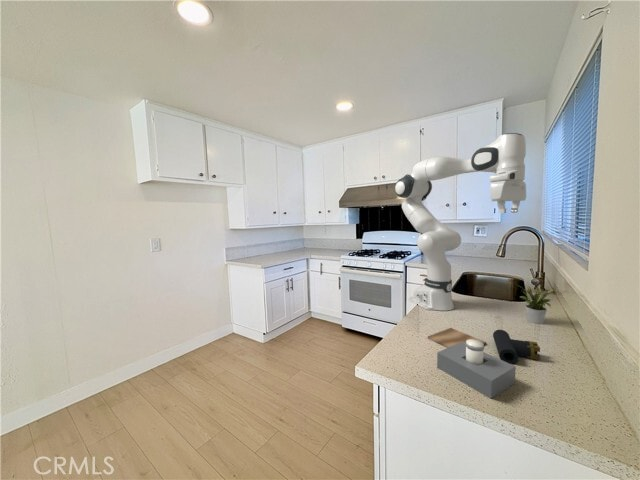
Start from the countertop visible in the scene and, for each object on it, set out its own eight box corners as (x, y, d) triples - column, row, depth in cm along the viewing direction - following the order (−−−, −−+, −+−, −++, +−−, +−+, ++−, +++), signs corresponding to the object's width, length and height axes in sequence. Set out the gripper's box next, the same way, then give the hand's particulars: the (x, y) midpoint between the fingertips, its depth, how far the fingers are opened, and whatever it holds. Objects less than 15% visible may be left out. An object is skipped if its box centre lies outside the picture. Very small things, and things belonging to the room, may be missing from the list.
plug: (461, 373, 77) (462, 341, 76) (470, 368, 80) (471, 337, 78) (477, 381, 73) (478, 348, 72) (486, 376, 76) (487, 344, 75)
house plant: (507, 320, 112) (508, 284, 110) (514, 312, 121) (516, 278, 119) (550, 331, 101) (553, 291, 100) (555, 320, 110) (557, 283, 109)
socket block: (437, 367, 81) (437, 352, 80) (460, 356, 86) (461, 342, 86) (490, 398, 67) (491, 380, 66) (514, 383, 72) (515, 366, 72)
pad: (427, 338, 99) (427, 336, 99) (450, 329, 106) (450, 327, 106) (462, 355, 87) (462, 353, 87) (486, 344, 93) (486, 342, 93)
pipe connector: (532, 333, 90) (545, 354, 77) (531, 347, 91) (545, 371, 77) (493, 328, 95) (499, 347, 82) (492, 341, 96) (499, 363, 83)
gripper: (513, 178, 106) (512, 212, 107) (487, 176, 96) (486, 213, 97) (532, 176, 101) (530, 212, 102) (506, 174, 90) (504, 213, 92)
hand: (508, 212), depth 100 cm, fingers open, 8 cm apart
